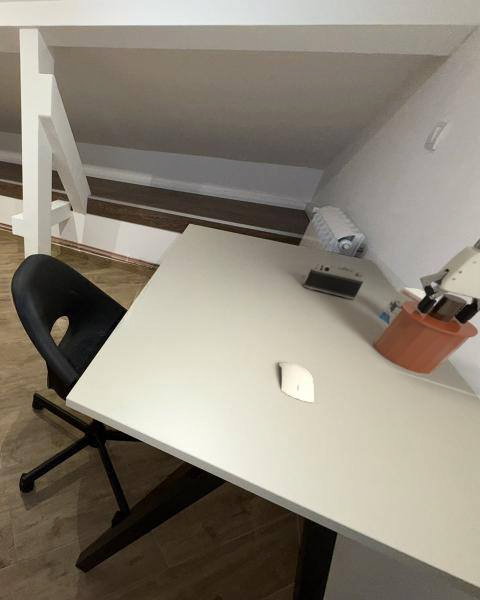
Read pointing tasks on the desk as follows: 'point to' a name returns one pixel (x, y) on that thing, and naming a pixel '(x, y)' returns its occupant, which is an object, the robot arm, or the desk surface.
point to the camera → (334, 281)
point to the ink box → (401, 302)
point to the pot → (416, 344)
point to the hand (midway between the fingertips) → (440, 315)
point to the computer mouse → (297, 382)
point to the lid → (442, 316)
